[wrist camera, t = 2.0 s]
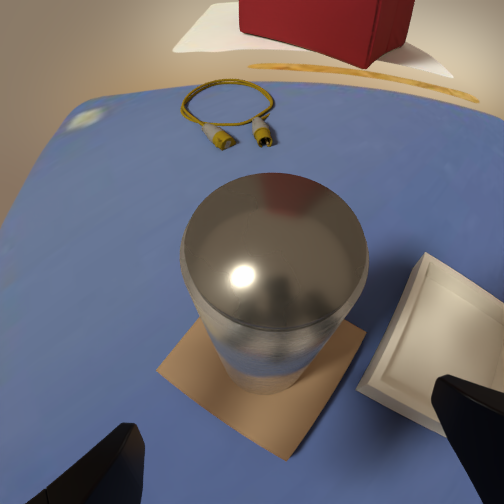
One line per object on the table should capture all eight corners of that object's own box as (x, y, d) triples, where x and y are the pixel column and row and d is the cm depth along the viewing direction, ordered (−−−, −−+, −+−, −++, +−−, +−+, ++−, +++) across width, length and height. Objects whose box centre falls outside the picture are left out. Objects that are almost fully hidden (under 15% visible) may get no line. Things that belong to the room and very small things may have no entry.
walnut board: (362, 336, 21) (366, 332, 20) (285, 459, 16) (286, 461, 16) (245, 267, 24) (245, 260, 23) (160, 373, 19) (155, 370, 19)
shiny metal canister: (320, 343, 19) (397, 219, 8) (275, 410, 17) (312, 378, 6) (254, 303, 21) (251, 148, 10) (207, 364, 19) (137, 259, 8)
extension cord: (158, 152, 32) (154, 138, 30) (197, 84, 40) (195, 73, 39) (270, 159, 31) (271, 144, 29) (282, 88, 39) (283, 76, 37)
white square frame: (505, 328, 20) (522, 317, 18) (468, 448, 15) (488, 446, 13) (412, 268, 24) (425, 252, 21) (355, 389, 19) (367, 384, 17)
